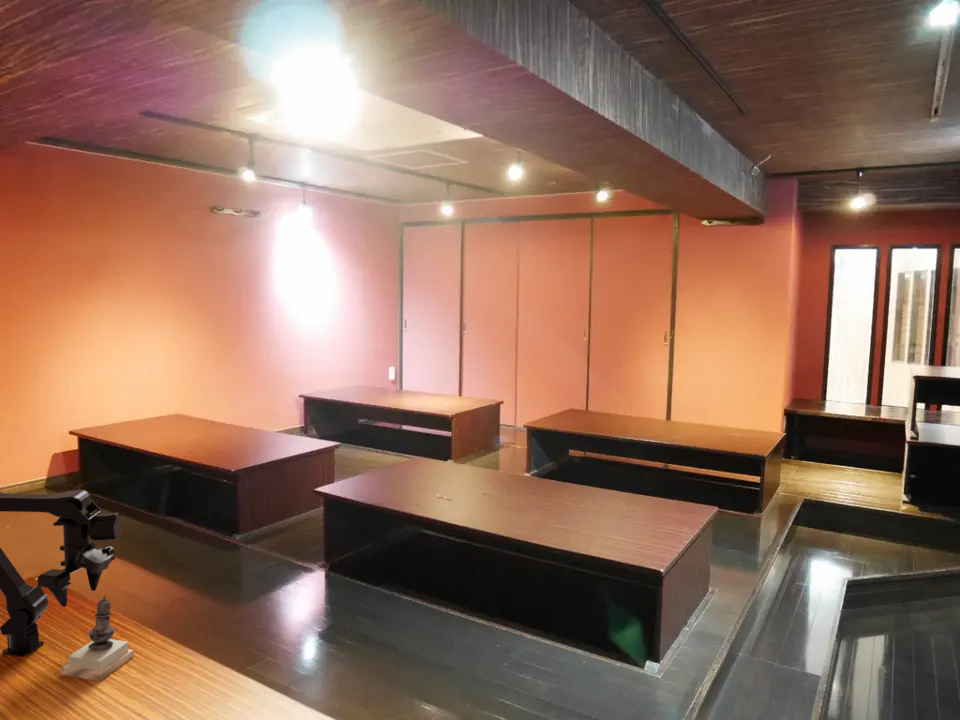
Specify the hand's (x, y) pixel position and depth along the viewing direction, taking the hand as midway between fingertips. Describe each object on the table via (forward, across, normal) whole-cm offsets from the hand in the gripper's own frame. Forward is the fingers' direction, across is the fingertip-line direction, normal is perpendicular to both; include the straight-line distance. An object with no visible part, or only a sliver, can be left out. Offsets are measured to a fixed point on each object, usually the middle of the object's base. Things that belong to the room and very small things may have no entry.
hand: (79, 598), depth 165 cm
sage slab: (+11, -6, -11) cm, 17 cm away
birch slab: (+14, -6, -11) cm, 19 cm away
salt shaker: (+9, -5, -11) cm, 15 cm away
